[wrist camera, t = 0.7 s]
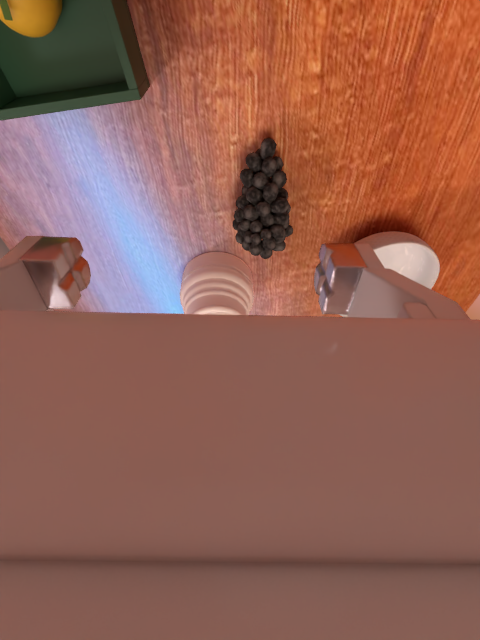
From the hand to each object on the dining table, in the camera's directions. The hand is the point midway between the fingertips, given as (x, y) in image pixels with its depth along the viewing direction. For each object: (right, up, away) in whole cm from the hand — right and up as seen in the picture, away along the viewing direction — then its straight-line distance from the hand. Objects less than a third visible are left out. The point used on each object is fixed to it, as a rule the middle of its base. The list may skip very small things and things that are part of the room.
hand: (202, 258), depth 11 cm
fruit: (+5, +17, +33) cm, 38 cm away
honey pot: (-3, +5, +46) cm, 46 cm away
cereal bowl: (+24, +8, +43) cm, 50 cm away
